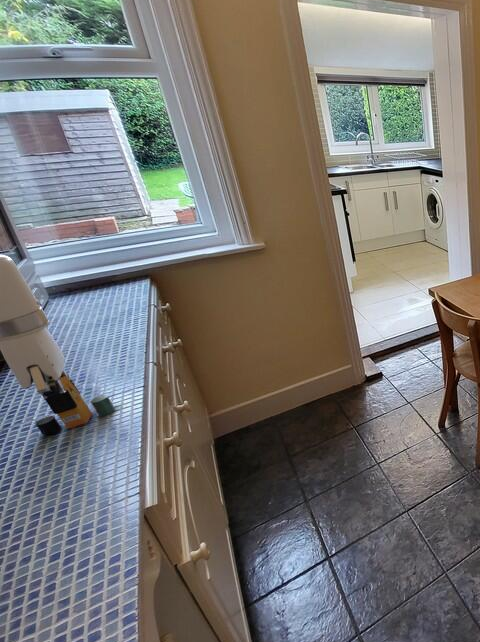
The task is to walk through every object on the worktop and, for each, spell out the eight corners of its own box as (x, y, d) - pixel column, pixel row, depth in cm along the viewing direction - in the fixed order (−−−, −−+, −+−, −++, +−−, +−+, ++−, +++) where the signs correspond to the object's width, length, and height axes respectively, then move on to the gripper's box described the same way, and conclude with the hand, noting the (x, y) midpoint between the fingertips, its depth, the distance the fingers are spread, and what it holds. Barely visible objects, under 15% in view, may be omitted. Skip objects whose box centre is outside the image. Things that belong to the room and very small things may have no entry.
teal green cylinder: (95, 415, 85) (87, 402, 84) (108, 407, 88) (100, 394, 86) (105, 416, 85) (97, 403, 83) (118, 408, 87) (110, 395, 86)
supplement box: (71, 420, 84) (46, 380, 80) (93, 414, 86) (69, 374, 81) (65, 429, 82) (37, 388, 77) (87, 423, 83) (62, 383, 79)
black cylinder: (39, 436, 80) (31, 424, 79) (55, 427, 83) (47, 415, 81) (50, 437, 80) (42, 425, 78) (65, 428, 82) (57, 416, 81)
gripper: (-2, 315, 78) (49, 393, 86) (-29, 348, 66) (33, 435, 74) (53, 303, 82) (97, 378, 90) (37, 332, 70) (89, 416, 78)
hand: (67, 403), depth 82 cm, fingers open, 4 cm apart
